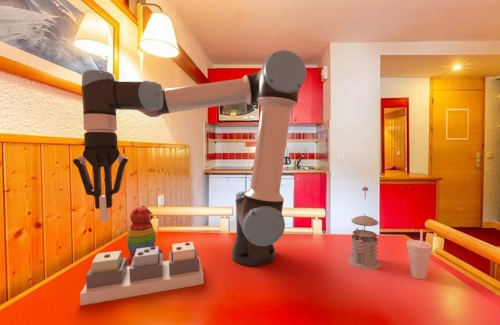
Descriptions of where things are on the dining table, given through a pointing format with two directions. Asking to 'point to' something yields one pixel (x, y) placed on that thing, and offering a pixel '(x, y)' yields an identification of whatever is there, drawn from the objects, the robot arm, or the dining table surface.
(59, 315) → the dining table surface
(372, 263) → the french press
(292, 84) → the robot arm
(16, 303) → the dining table surface
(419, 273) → the smoothie
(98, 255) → the button one dot
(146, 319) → the dining table surface
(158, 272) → the button panel
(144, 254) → the button three dot
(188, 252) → the button two dot
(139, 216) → the stacking bear
